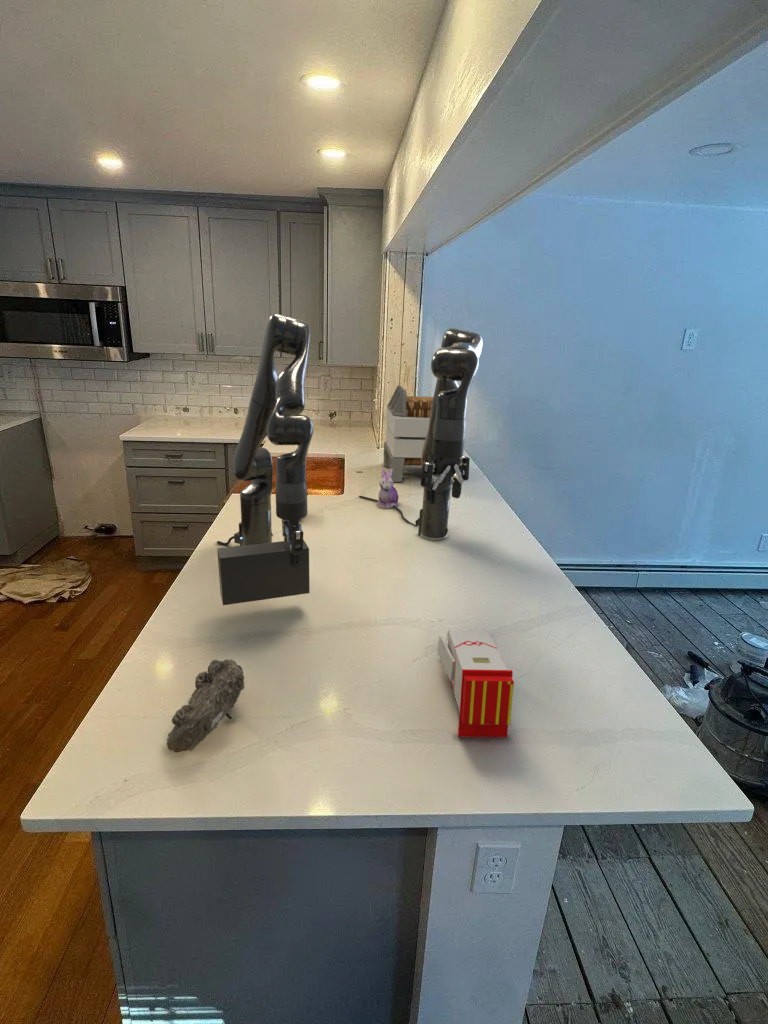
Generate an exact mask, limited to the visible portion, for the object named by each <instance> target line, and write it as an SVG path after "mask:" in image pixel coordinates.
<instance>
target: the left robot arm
mask: <svg viewBox="0 0 768 1024" xmlns="http://www.w3.org/2000/svg"><path fill="white" fill-rule="evenodd" d="M310 343H311V327H310V325H309V323H308V322H307V321H304V320H302V319H299V318H295V317H291V316H287V315H284V314H281V313H280V314H278V313H272V314H271V315H270V316H269V319H268V321H267V324H266V328H265V333H264V337H263V343H262V348H261V354H260V359H259V365H258V370H257V374H256V377H255V381H254V385H253V389H252V393H251V395H250V399H249V404H248V409H247V414H246V417H245V422H244V426H243V429H242V432H241V435H240V438H239V441H238V444H237V446H236V449H235V452H234V454H233V458H232V471H233V474H234V476H235V478H236V479H237V480H239V481H241V482H249V483H248V484H247V485H246V486H245V487H244V488H242V489H241V491H240V493H239V501H240V502H239V503H240V522H239V523H238V531H237V532H235V533H234V534H233V536H231V537H229V539H228V540H227V542H222V541H220V540H216V543H217V544H219V545H222V546H229V545H230V543H231V541H232V540H234V544H237V545H239V546H243V545H253V544H262V543H271V542H273V537H274V534H273V531H272V530H273V528H272V526H273V525H272V493H273V489H274V488H273V487H274V461H273V456H272V453H271V452H270V451H269V450H268V449H267V448H265V447H260V446H261V445H262V443H263V441H264V440H265V439H266V438H268V441H269V442H270V443H271V444H272V445H274V446H297V448H296V449H295V450H294V451H291V452H287V453H283V454H280V455H278V456H277V457H276V459H275V479H276V481H275V515H276V517H277V518H278V519H280V520H281V528H282V530H281V531H282V534H281V535H282V538H283V541H287V543H288V544H290V552H291V566H292V567H298V566H300V553H303V540H304V530H303V527H302V524H301V523H300V521H301V520H302V519H304V518H306V517H307V516H308V496H307V493H308V487H307V486H308V485H307V457H308V451H309V448H310V445H311V441H312V439H313V435H314V423H313V420H312V419H311V418H310V417H309V416H308V415H305V414H302V413H303V412H304V411H305V408H306V407H305V406H306V400H305V399H306V396H305V395H306V394H305V391H306V390H305V379H306V372H307V366H308V361H309V351H310ZM276 352H278V353H282V354H285V355H290V356H294V358H293V360H292V361H291V362H290V363H289V364H288V365H287V366H286V367H285V368H284V369H283V370H282V371H281V372H280V374H278V371H277V368H276V364H275V363H276V362H275V353H276ZM300 519H301V520H300ZM299 520H300V521H299ZM296 545H298V548H295V546H296Z"/></svg>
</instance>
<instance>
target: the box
mask: <svg viewBox="0 0 768 1024" xmlns="http://www.w3.org/2000/svg"><path fill="white" fill-rule="evenodd" d="M295 548H298V545H296V546H295ZM216 550H217V563H218V564H217V566H218V581H219V594H220V599H221V602H222V606H229V605H235V604H244V603H251V602H258V601H264V600H265V601H266V600H270V599H271V600H272V599H279V598H285V597H292V596H298V595H306V594H310V548H309V546H308V544H307V543H306V541H305V539H303V553H300V566H298V567H292V566H291V552H290V544H288V543H287V541H284V540H282V541H272V542H271V543H262V544H253V545H243V546H240V545H235V546H234V545H233V546H225V547H217V549H216Z"/></svg>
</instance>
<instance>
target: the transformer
mask: <svg viewBox="0 0 768 1024" xmlns="http://www.w3.org/2000/svg"><path fill="white" fill-rule="evenodd" d="M407 394H408V393H407V390H406V389H404V388H403V387H402V385H399V384H398V385H397V386H396V388H395V390H394V392H393V394H392V395H391V398H390V400H389V402H388V404H387V405H386V413H385V414H386V415H385V423H386V428H385V438H384V442H383V466H384V467H388V468H389V469H390V468H392V475H391V478H392V481H393V483H402V482H403V475H404V469H405V466H406V467H407V466H411V467H412V466H413V467H415V466H416V467H417V466H418V467H422V464H421V455H422V450H423V446H424V442H425V438H426V435H427V431H428V426H429V420H430V413H431V406H432V401H433V396H415V395H414V396H413V395H412V396H411V395H407ZM453 482H454V481H453V479H452V483H451V484H453Z"/></svg>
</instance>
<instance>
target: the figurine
mask: <svg viewBox="0 0 768 1024" xmlns="http://www.w3.org/2000/svg"><path fill="white" fill-rule="evenodd" d="M380 474H381V475H380V476H381V478H380V480H379V487H380V490H379V491H378V500H379V501H378V502H377V505H378V507H379V508H381V509H390V508H391V509H392V508H394V507H393V505H394V506H396V507H397V506H398V503H399V494H398V490H397V489H396V488H395V487H394V482H393V481H392V478H391V475H392V468H390V467H389V469H388V471H385V469H384V468H381V470H380Z"/></svg>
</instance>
